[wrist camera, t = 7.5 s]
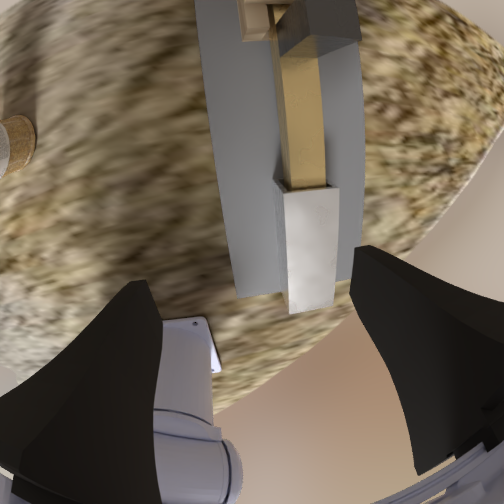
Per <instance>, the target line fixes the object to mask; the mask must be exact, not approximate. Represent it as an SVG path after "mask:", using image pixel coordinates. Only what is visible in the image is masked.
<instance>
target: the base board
mask: <svg viewBox="0 0 504 504" xmlns="http://www.w3.org/2000/svg"><path fill="white" fill-rule="evenodd" d="M194 3H195V12H196V22H197V31H198V40H199V48H200V57H201V65H202V73H203V81H204V88H205V96H206V104H207V111H208V118H209V125H210V132H211V139H212V146H213V153H214V160H215V167H216V173H217V180H218V186H219V193H220V199H221V205H222V211H223V218H224V224H225V230H226V236H227V242H228V248H229V254H230V259H231V265H232V271H233V277H234V282H235V288H236V293H237V299H238V298H244V297H251V296H257V295H264V294H270V293H276V292H282V291H281V288H280V277H279V261H278V246H277V232H276V219H275V206H274V194H273V182H272V179H274V178H283V165H282V153H281V141H280V130H279V119H278V109H277V99H276V90H275V81H274V72H273V63H272V55H271V47H270V40H268V41H249V42H242V36H241V29H240V21H239V13H238V6H237V0H194ZM318 67H319V76H320V87H321V98H322V111H323V126H324V145H325V175H326V179H328V180H329V181H331V182H332V183H333V184H335V185H336V186H338V187H339V230H338V250H337V265H336V278H335V282H337V281H342V280H347V279H351V276H352V268H353V258H354V248H355V247H360V245H361V234H362V222H363V207H364V186H365V120H364V100H363V86H362V75H361V65H360V56H359V48H358V42H356V43H353V44H350V45H348V46H345V47H342V48H340V49H337V50H335V51H333V52H330V53H328V54H325V55H323V56H321V57H319V58H318Z"/></svg>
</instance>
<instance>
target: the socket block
mask: <svg viewBox="0 0 504 504" xmlns="http://www.w3.org/2000/svg"><path fill="white" fill-rule="evenodd" d="M293 1H294V0H237V6H238V13H239V21H240V29H241V36H242V42H249V41H268V40H269V32H268V29H269V28H270V25H269V18H268V11H267V6H268V4H292V3H293Z"/></svg>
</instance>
